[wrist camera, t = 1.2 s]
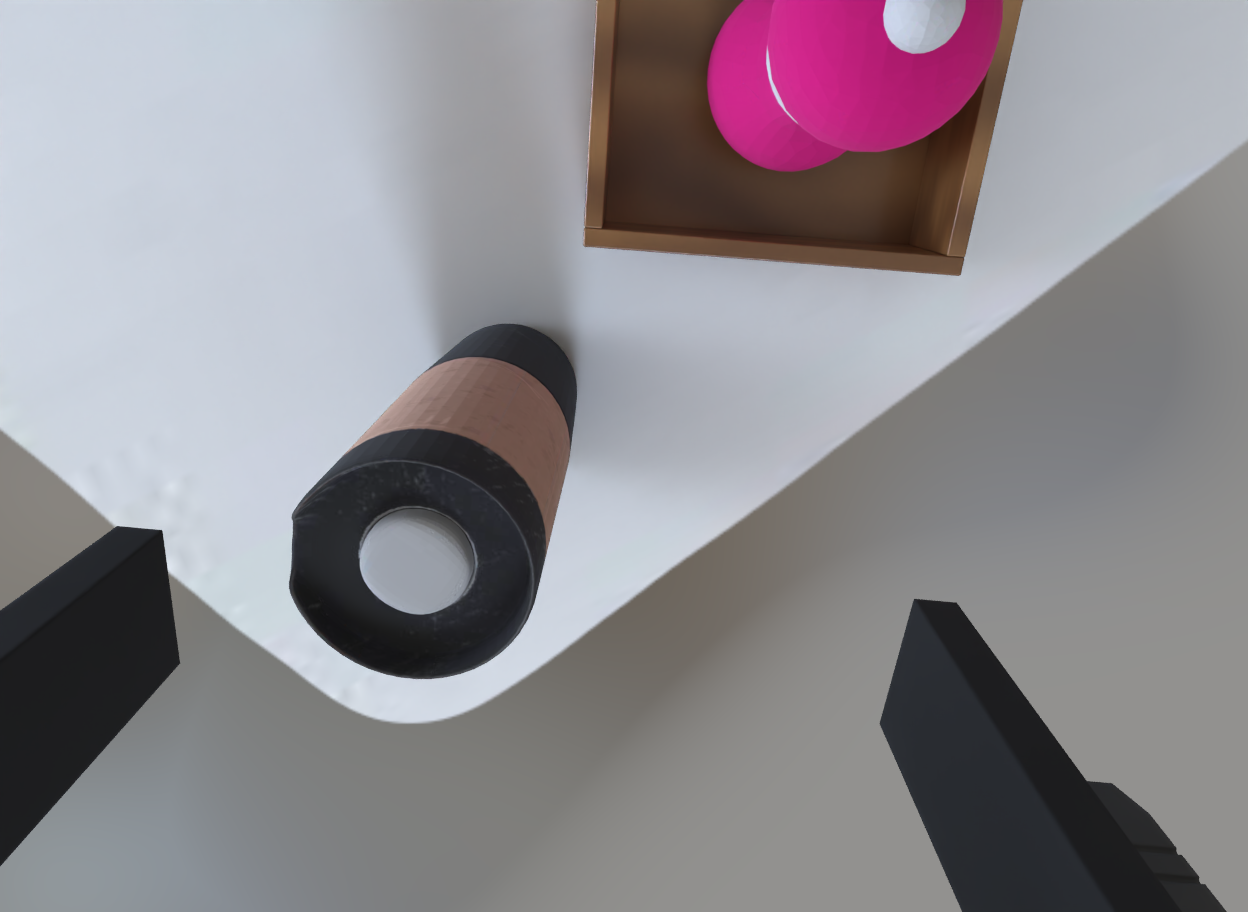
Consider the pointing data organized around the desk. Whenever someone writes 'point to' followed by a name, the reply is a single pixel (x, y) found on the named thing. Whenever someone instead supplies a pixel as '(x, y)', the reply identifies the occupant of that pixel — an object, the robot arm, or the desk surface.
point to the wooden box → (747, 193)
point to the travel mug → (441, 511)
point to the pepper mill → (845, 74)
